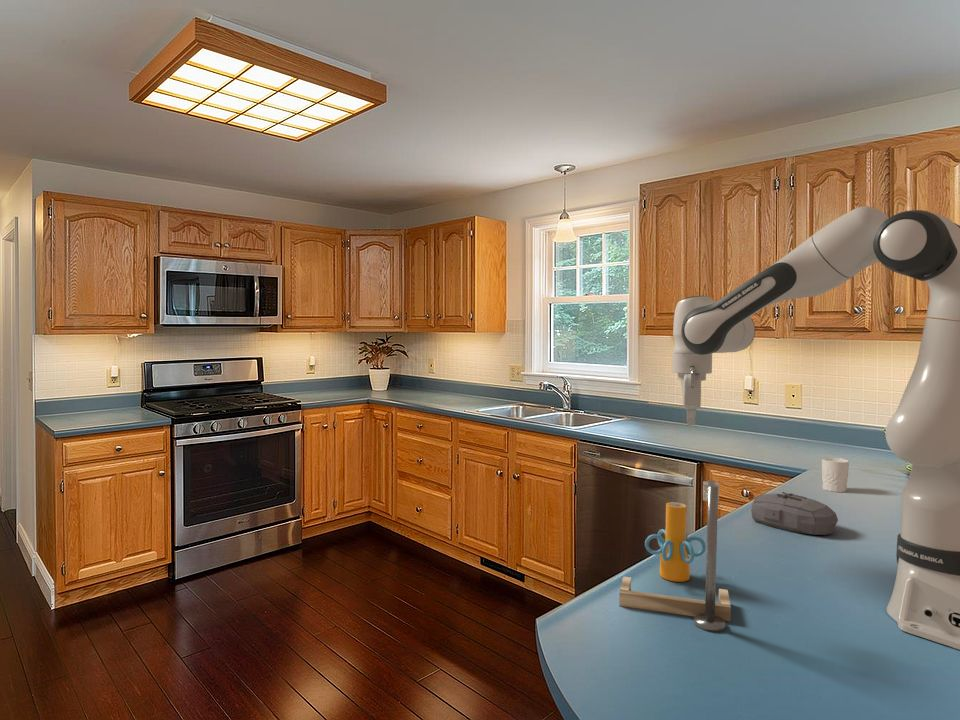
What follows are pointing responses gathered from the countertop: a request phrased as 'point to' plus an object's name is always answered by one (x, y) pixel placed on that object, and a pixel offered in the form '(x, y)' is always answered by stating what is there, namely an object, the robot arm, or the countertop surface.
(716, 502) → the round-based metal post
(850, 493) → the countertop surface
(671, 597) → the yoke
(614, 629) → the countertop surface
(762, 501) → the grey rounded bag
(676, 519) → the vase
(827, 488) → the white cup
